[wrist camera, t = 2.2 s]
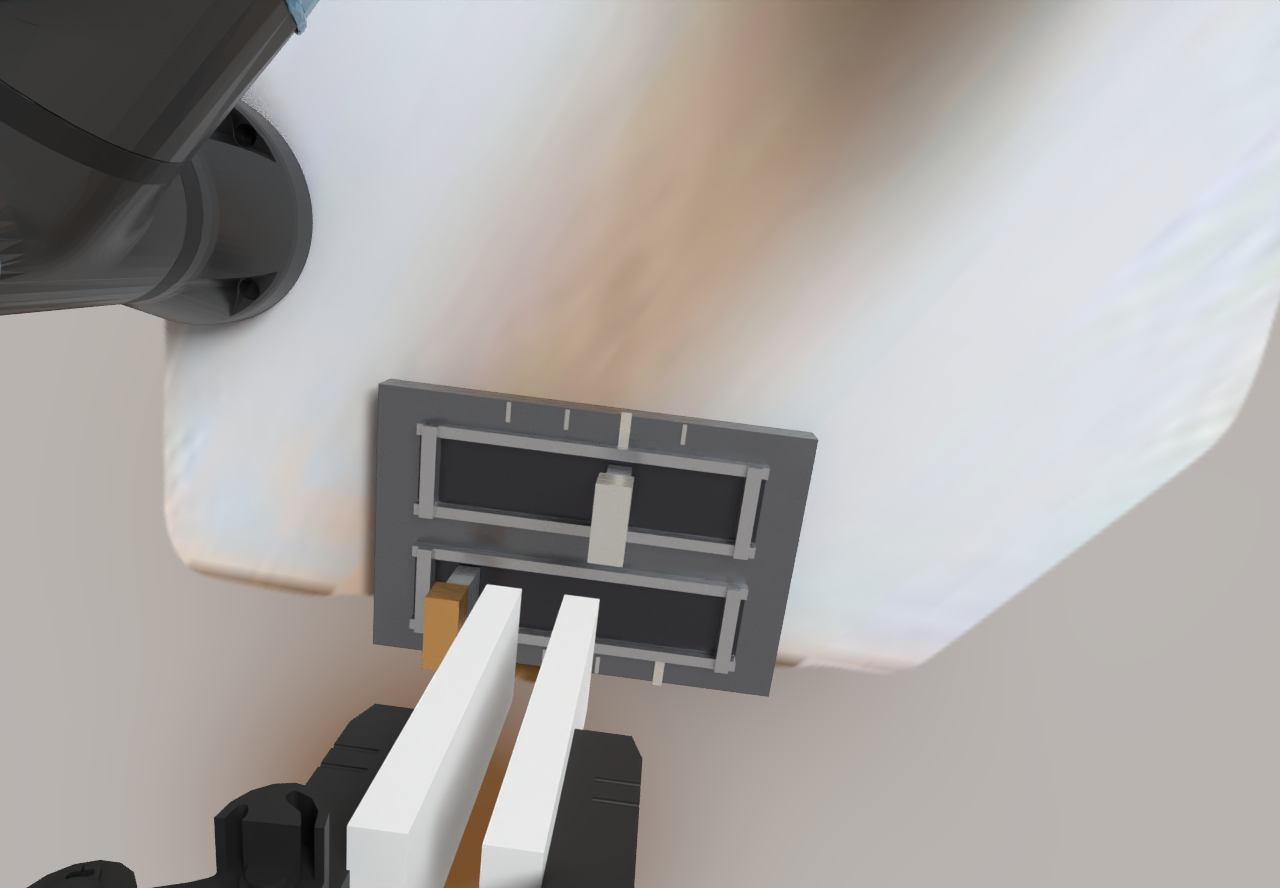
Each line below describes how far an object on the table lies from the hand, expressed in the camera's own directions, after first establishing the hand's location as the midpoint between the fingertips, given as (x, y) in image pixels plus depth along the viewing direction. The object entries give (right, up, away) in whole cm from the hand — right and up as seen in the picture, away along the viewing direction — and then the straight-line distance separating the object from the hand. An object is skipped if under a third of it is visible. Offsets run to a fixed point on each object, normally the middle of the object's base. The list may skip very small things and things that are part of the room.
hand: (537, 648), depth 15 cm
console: (-2, -2, +36) cm, 37 cm away
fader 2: (+1, +1, +33) cm, 33 cm away
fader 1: (-10, -6, +36) cm, 38 cm away
